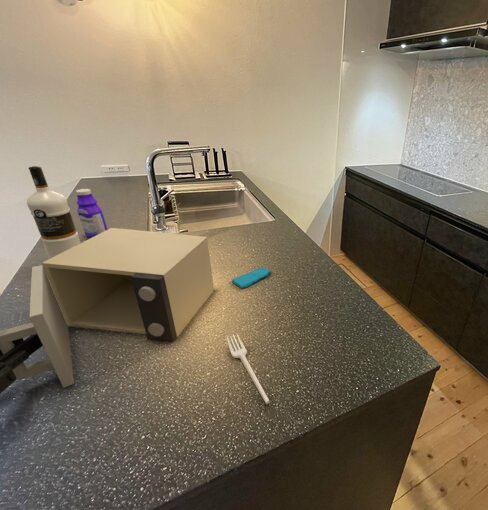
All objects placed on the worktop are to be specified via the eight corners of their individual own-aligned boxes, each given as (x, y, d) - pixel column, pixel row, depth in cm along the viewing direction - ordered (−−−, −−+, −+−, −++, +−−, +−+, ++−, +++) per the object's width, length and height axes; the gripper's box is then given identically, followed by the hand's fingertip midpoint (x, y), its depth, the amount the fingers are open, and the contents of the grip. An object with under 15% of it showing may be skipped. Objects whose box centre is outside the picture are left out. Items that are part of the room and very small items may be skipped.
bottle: (81, 237, 112) (66, 190, 104) (95, 231, 117) (81, 186, 109) (99, 240, 111) (85, 193, 103) (112, 234, 116) (99, 189, 108)
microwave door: (24, 403, 54) (-19, 329, 46) (27, 339, 67) (-6, 274, 59) (74, 383, 58) (42, 313, 50) (68, 327, 71) (42, 264, 63)
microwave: (171, 345, 69) (156, 280, 61) (59, 333, 69) (30, 268, 62) (214, 290, 89) (207, 236, 81) (126, 281, 89) (111, 227, 82)
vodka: (96, 259, 99) (66, 164, 85) (72, 273, 91) (34, 171, 77) (69, 256, 99) (34, 162, 86) (42, 270, 91) (-1, 168, 77)
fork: (259, 409, 56) (259, 402, 55) (225, 343, 70) (224, 337, 69) (276, 401, 58) (276, 394, 57) (239, 338, 72) (238, 332, 71)
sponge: (274, 274, 97) (264, 265, 101) (241, 287, 89) (230, 277, 92) (274, 277, 98) (264, 269, 101) (241, 291, 90) (230, 281, 93)
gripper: (-214, 489, 37) (-4, 349, 58) (-88, 505, 36) (78, 358, 57) (-265, 452, 33) (-22, 317, 54) (-127, 469, 33) (65, 326, 54)
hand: (29, 338), depth 56 cm, fingers open, 3 cm apart
